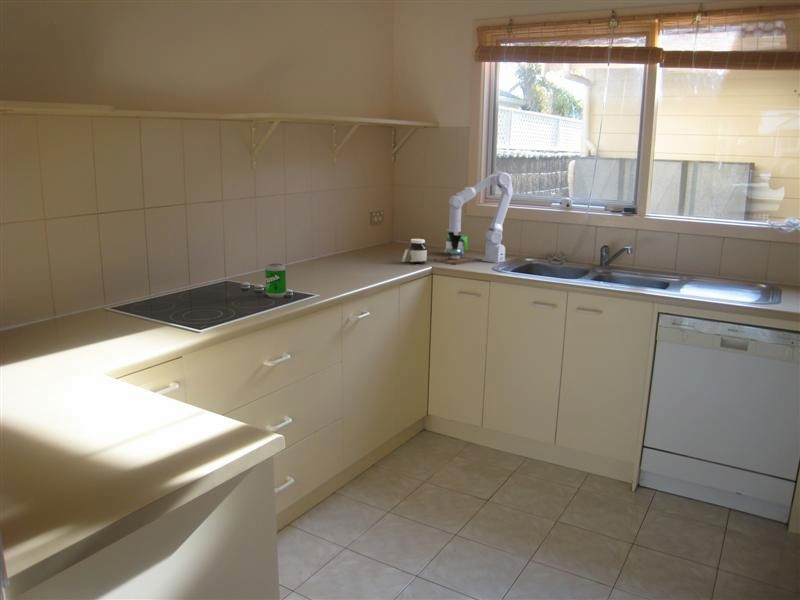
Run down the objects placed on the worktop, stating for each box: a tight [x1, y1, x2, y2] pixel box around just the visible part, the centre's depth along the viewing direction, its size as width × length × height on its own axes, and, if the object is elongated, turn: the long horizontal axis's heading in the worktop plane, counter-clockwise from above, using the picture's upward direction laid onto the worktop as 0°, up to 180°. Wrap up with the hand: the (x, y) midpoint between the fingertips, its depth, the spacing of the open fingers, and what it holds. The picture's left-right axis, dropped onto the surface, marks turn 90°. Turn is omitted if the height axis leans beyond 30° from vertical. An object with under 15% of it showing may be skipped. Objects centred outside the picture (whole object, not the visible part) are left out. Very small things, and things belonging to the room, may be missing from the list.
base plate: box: [433, 254, 474, 265], centre depth 344 cm, size 14×14×4 cm
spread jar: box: [401, 238, 428, 265], centre depth 336 cm, size 12×11×12 cm
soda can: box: [264, 262, 287, 298], centre depth 262 cm, size 8×8×12 cm
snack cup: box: [446, 234, 469, 257], centre depth 362 cm, size 16×10×10 cm
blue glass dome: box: [444, 240, 463, 256], centre depth 343 cm, size 9×8×6 cm
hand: (454, 247), depth 343 cm, fingers open, 7 cm apart
